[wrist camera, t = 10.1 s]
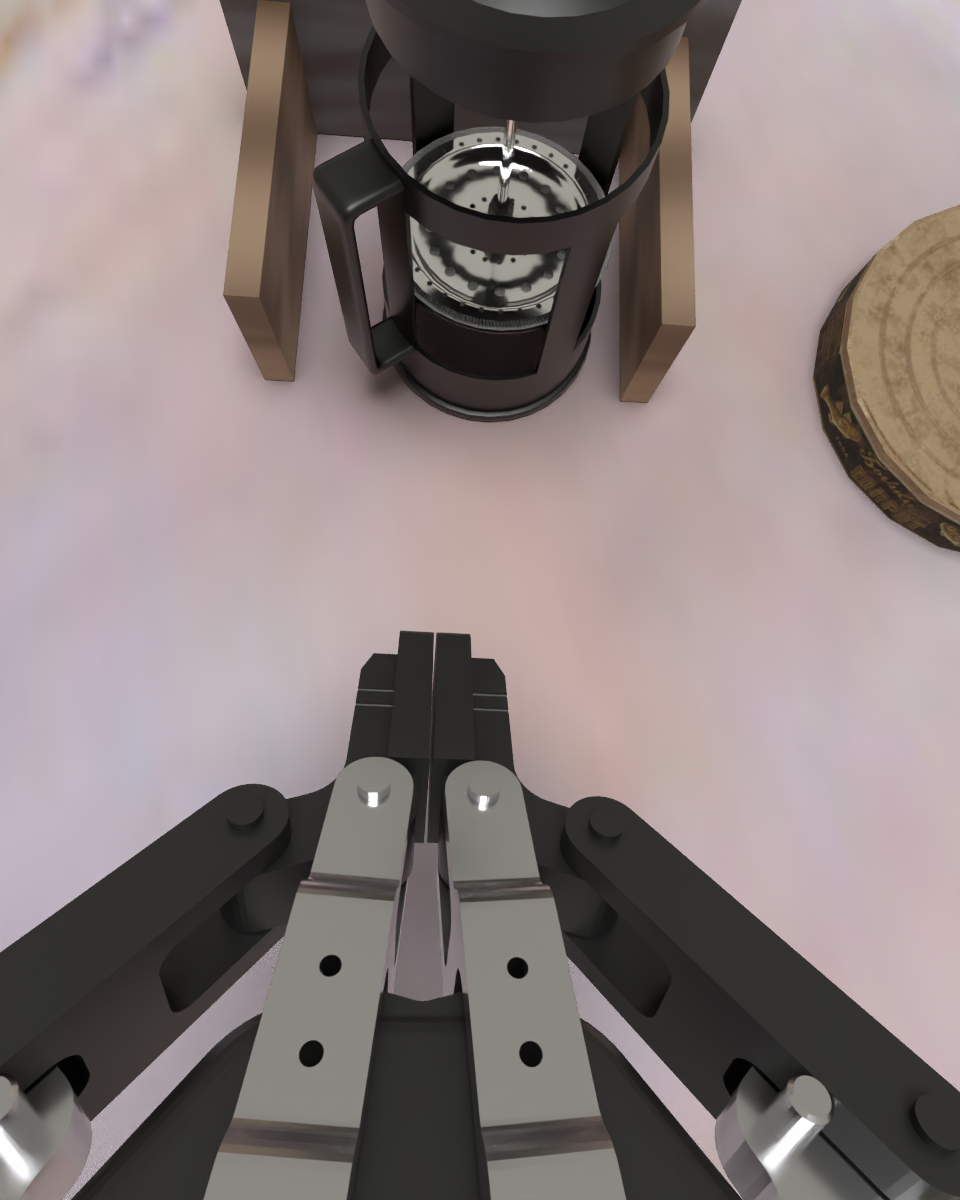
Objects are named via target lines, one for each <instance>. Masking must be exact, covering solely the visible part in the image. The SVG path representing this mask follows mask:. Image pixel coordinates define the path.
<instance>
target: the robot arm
mask: <svg viewBox="0 0 960 1200" xmlns="http://www.w3.org/2000/svg"><path fill="white" fill-rule="evenodd" d="M433 643H434V632H415V631H400V637H399V647H398V655H397V654H376V653H374V654H373V655H372V656H371V658H370V659H369V660H368V661H367V662H366V664H365V665H364V666H363V667H362V669H361V673H360V679H359V686H358V692H357V698H356V706H355V710H354V717H353V723H352V729H351V735H350V742H349V748H348V754H347V760H346V764H345V766H344V768H343V770H342V771H341V772H340V773H339V775H338V776H337V778H336V779H335V780H334V781H333V782H332V783H330V784H329V785H327V786H326V787H324V788H322V789H320V790H318V791H316V792H313V793H309V794H306V795H302V796H298V797H293V798H289V799H285V798H284V796H283V795H282V794H281V793H280V792H279V791H277V790H275V789H274V788H272V787H269V786H266V785H261V784H246V785H240V786H237V787H234V788H231V789H229V790H227V791H225V792H223V793H221V794H220V795H218V796H217V797H216V798H214V799H213V800H211V801H210V802H209V803H207V804H206V805H204V806H203V807H202V808H200V809H199V810H197V811H196V812H195V813H193V814H192V815H191V816H189V817H188V818H186V819H185V820H184V821H182V822H181V823H179V824H178V825H177V826H175V827H174V828H173V829H171V830H170V831H168V832H167V833H166V834H164V835H163V836H161V837H160V838H159V839H157V840H156V841H154V842H153V843H152V844H150V845H149V846H148V847H146V848H145V849H143V850H142V851H141V852H139V853H138V854H136V855H135V856H134V857H132V858H131V859H130V860H128V861H127V862H125V863H124V864H123V865H121V866H120V867H118V868H117V869H116V870H114V871H113V872H111V873H110V874H109V875H107V876H106V877H105V878H103V879H102V880H100V881H99V882H98V883H96V884H95V885H93V886H92V887H91V888H89V889H88V890H87V891H85V892H84V893H82V894H81V895H80V896H78V897H77V898H75V899H74V900H73V901H71V902H70V903H68V904H67V905H66V906H64V907H63V908H62V909H60V910H59V911H57V912H56V913H55V914H53V915H52V916H50V917H49V918H48V919H46V920H45V921H43V922H42V923H41V924H39V925H38V926H37V927H35V928H34V929H32V930H31V931H30V932H28V933H27V934H25V935H24V936H23V937H21V938H20V939H19V940H17V941H16V942H14V943H13V944H12V945H10V946H9V947H7V948H6V949H5V950H3V951H2V952H0V1200H62V1199H63V1198H64V1197H65V1195H66V1194H67V1193H68V1192H69V1190H70V1189H71V1188H72V1187H73V1185H74V1184H75V1182H76V1181H77V1179H78V1178H79V1176H80V1174H81V1172H82V1170H83V1168H84V1166H85V1164H86V1161H87V1158H88V1156H89V1152H90V1148H91V1142H92V1128H91V1123H90V1122H91V1121H92V1120H93V1119H94V1118H95V1117H96V1116H97V1115H98V1114H99V1113H100V1112H101V1111H102V1110H103V1109H104V1108H105V1107H106V1106H107V1105H108V1104H109V1103H110V1102H111V1101H112V1100H114V1099H115V1098H116V1097H117V1096H118V1095H119V1094H120V1093H121V1092H122V1091H123V1090H124V1089H125V1088H126V1087H127V1086H128V1085H129V1084H130V1083H131V1082H132V1081H133V1080H134V1079H135V1078H136V1077H137V1076H138V1075H140V1074H141V1073H142V1072H143V1071H144V1070H145V1069H146V1068H147V1067H148V1066H149V1065H150V1064H151V1063H152V1062H153V1061H154V1060H155V1059H156V1058H157V1057H158V1056H159V1055H160V1054H161V1053H162V1052H163V1051H164V1050H166V1049H167V1048H168V1047H169V1046H170V1045H171V1044H172V1043H173V1042H174V1041H175V1040H176V1039H177V1038H178V1037H179V1036H180V1035H181V1034H182V1033H183V1032H184V1031H185V1030H186V1029H187V1028H188V1027H189V1026H190V1025H192V1024H193V1023H194V1022H195V1021H196V1020H197V1019H198V1018H199V1017H200V1016H201V1015H202V1014H203V1013H204V1012H205V1011H206V1010H207V1009H208V1008H209V1007H210V1006H211V1005H212V1004H213V1003H214V1002H215V1001H217V1000H218V999H219V998H220V997H221V996H222V995H223V994H224V993H225V992H226V991H227V990H228V989H229V988H230V987H231V986H232V985H233V984H234V983H235V982H236V981H237V980H238V979H239V978H240V977H241V976H243V975H244V974H245V973H246V972H247V971H248V970H249V969H250V968H251V967H252V966H253V965H254V964H255V963H256V962H257V961H258V960H259V959H260V958H261V957H262V956H263V955H264V954H265V953H266V952H267V951H269V950H270V949H271V948H272V947H273V946H274V945H275V944H276V943H277V942H278V941H279V940H280V939H281V938H282V937H283V936H284V939H283V943H282V946H281V950H280V953H279V957H278V960H277V964H276V967H275V971H274V974H273V978H272V982H271V985H270V989H269V992H268V996H267V999H266V1003H265V1006H264V1010H263V1013H261V1014H259V1015H257V1016H255V1017H253V1018H252V1019H250V1020H248V1021H246V1022H245V1023H243V1024H242V1025H240V1026H239V1027H237V1028H236V1029H235V1030H233V1031H232V1032H230V1033H229V1034H228V1035H227V1036H226V1037H224V1038H223V1039H222V1040H221V1041H220V1042H219V1043H217V1044H216V1045H215V1046H214V1047H213V1048H212V1049H211V1050H210V1051H209V1052H208V1053H207V1054H206V1056H205V1057H204V1058H203V1059H202V1060H201V1061H200V1062H199V1063H198V1064H197V1065H196V1066H195V1067H194V1068H193V1069H192V1071H191V1072H190V1073H189V1074H188V1075H187V1076H186V1077H185V1078H184V1079H183V1080H182V1081H181V1082H180V1083H179V1084H178V1086H177V1087H176V1088H175V1089H174V1090H173V1091H172V1092H171V1093H170V1094H169V1095H168V1096H167V1097H166V1098H165V1099H164V1101H163V1102H162V1103H161V1104H160V1105H159V1106H158V1107H157V1108H156V1109H155V1110H154V1111H153V1112H152V1113H151V1115H150V1116H149V1117H148V1118H147V1119H146V1120H145V1121H144V1122H143V1123H142V1124H141V1125H140V1126H139V1127H138V1128H137V1130H136V1131H135V1132H134V1133H133V1134H132V1135H131V1136H130V1137H129V1138H128V1139H127V1140H126V1141H125V1142H124V1143H123V1145H122V1146H121V1147H120V1148H119V1149H118V1150H117V1151H116V1152H115V1153H114V1154H113V1155H112V1156H111V1157H110V1158H109V1160H108V1161H107V1162H106V1163H105V1164H104V1165H103V1166H102V1167H101V1168H100V1169H99V1170H98V1171H97V1172H96V1173H95V1175H94V1176H93V1177H92V1178H91V1179H90V1180H89V1181H88V1182H87V1183H86V1184H85V1185H84V1186H83V1187H82V1189H81V1190H80V1191H79V1192H78V1193H77V1194H76V1195H75V1196H74V1197H73V1198H72V1199H71V1200H742V1199H743V1200H960V1092H959V1091H958V1090H957V1089H956V1088H955V1087H953V1086H952V1085H951V1084H950V1083H949V1082H948V1081H946V1080H945V1079H944V1078H943V1077H942V1076H941V1075H939V1074H938V1073H937V1072H936V1071H935V1070H934V1069H932V1068H931V1067H930V1066H929V1065H928V1064H927V1063H926V1062H924V1061H923V1060H922V1059H921V1058H920V1057H919V1056H917V1055H916V1054H915V1053H914V1052H913V1051H912V1050H910V1049H909V1048H908V1047H907V1046H906V1045H905V1044H903V1043H902V1042H901V1041H900V1040H899V1039H898V1038H896V1037H895V1036H894V1035H893V1034H892V1033H891V1032H889V1031H888V1030H887V1029H886V1028H885V1027H884V1026H882V1025H881V1024H880V1023H879V1022H878V1021H877V1020H875V1019H874V1018H873V1017H872V1016H871V1015H870V1014H868V1013H867V1012H866V1011H865V1010H864V1009H863V1008H861V1007H860V1006H859V1005H858V1004H857V1003H856V1002H854V1001H853V1000H852V999H851V998H850V997H849V996H848V995H846V994H845V993H844V992H843V991H842V990H841V989H839V988H838V987H837V986H836V985H835V984H834V983H832V982H831V981H830V980H829V979H828V978H827V977H825V976H824V975H823V974H822V973H821V972H820V971H818V970H817V969H816V968H815V967H814V966H813V965H811V964H810V963H809V962H808V961H807V960H806V959H804V958H803V957H802V956H801V955H800V954H799V953H797V952H796V951H795V950H794V949H793V948H792V947H790V946H789V945H788V944H787V943H786V942H785V941H783V940H782V939H781V938H780V937H779V936H778V935H776V934H775V933H774V932H773V931H772V930H771V929H770V928H768V927H767V926H766V925H765V924H764V923H763V922H761V921H760V920H759V919H758V918H757V917H756V916H754V915H753V914H752V913H751V912H750V911H749V910H747V909H746V908H745V907H744V906H743V905H742V904H740V903H739V902H738V901H737V900H736V899H735V898H733V897H732V896H731V895H730V894H729V893H728V892H726V891H725V890H724V889H723V888H722V887H721V886H719V885H718V884H717V883H716V882H715V881H714V880H712V879H711V878H710V877H709V876H708V875H707V874H705V873H704V872H703V871H702V870H701V869H700V868H698V867H697V866H696V865H695V864H694V863H693V862H692V861H690V860H689V859H688V858H687V857H686V856H685V855H683V854H682V853H681V852H680V851H679V850H678V849H676V848H675V847H674V846H673V845H672V844H671V843H669V842H668V841H667V840H666V839H665V838H664V837H662V836H661V835H660V834H659V833H658V832H657V831H655V830H654V829H653V828H652V827H651V826H650V825H648V824H647V823H646V822H645V821H644V820H643V819H641V818H640V817H639V816H638V815H637V814H636V813H634V812H633V811H632V810H631V809H630V808H628V807H627V806H626V805H624V804H622V803H620V802H619V801H616V800H614V799H610V798H607V797H600V796H596V797H587V798H584V799H581V800H579V801H577V802H576V803H575V804H573V805H572V806H571V808H568V807H565V806H562V805H558V804H555V803H552V802H549V801H546V800H544V799H541V798H540V797H538V796H536V795H534V794H533V793H531V792H530V791H529V790H528V789H527V788H525V787H524V785H523V784H522V783H521V782H520V780H519V779H518V777H517V775H516V772H515V769H514V763H513V753H512V743H511V733H510V723H509V713H508V703H507V697H506V695H507V692H506V682H505V675H504V674H503V672H502V671H501V669H500V668H499V666H498V665H497V663H496V662H495V660H494V659H483V658H471V637H470V634H457V633H437V634H436V647H435V661H434V675H433ZM432 675H433V690H432ZM431 707H432V709H431ZM429 764H430V771H429ZM428 778H429V803H428V835H427V843H438V868H437V880H436V885H437V901H438V916H439V931H440V946H441V962H442V981H443V995H442V997H441V998H437V999H433V1000H430V1001H415V1000H412V999H409V998H405V997H402V996H398V995H395V994H393V992H394V983H395V974H396V967H397V960H398V952H399V945H400V938H401V931H402V923H403V916H404V909H405V902H406V894H407V887H408V877H409V875H410V873H411V870H412V866H413V853H414V842H415V843H424V832H425V819H426V805H427V791H428ZM566 955H567V956H568V957H569V959H570V960H571V961H572V962H573V963H574V964H575V965H576V966H577V967H578V968H579V970H580V971H581V972H582V973H583V974H584V975H585V976H586V977H587V978H588V979H589V981H590V982H591V983H592V984H593V985H594V986H595V987H596V988H597V989H598V990H599V992H600V993H601V994H602V995H603V996H604V997H605V998H606V999H607V1000H608V1001H609V1003H610V1004H611V1005H612V1006H613V1007H614V1008H615V1009H616V1010H617V1011H618V1012H619V1014H620V1015H621V1016H622V1017H623V1018H624V1019H625V1020H626V1021H627V1022H628V1023H629V1025H630V1026H631V1027H632V1028H633V1029H634V1030H635V1031H636V1032H637V1033H638V1034H639V1036H640V1037H641V1038H642V1039H643V1040H644V1041H645V1042H646V1043H647V1044H648V1045H649V1047H650V1048H651V1049H652V1050H653V1051H654V1052H655V1053H656V1054H657V1055H658V1056H659V1058H660V1059H661V1060H662V1061H663V1062H664V1063H665V1064H666V1065H667V1066H668V1067H669V1069H670V1070H671V1071H672V1072H673V1073H674V1074H675V1075H676V1076H677V1077H678V1078H679V1080H680V1081H681V1082H682V1083H683V1084H684V1085H685V1086H686V1087H687V1088H688V1089H689V1091H690V1092H691V1093H692V1094H693V1095H694V1096H695V1097H696V1098H697V1099H698V1100H699V1102H700V1103H701V1104H702V1105H703V1106H704V1107H705V1108H706V1109H707V1110H708V1111H709V1113H710V1114H711V1115H712V1116H713V1117H714V1118H715V1119H716V1125H715V1143H716V1149H717V1153H718V1157H719V1160H720V1162H721V1165H722V1167H723V1169H724V1171H725V1173H726V1175H727V1176H728V1178H729V1179H730V1181H731V1182H732V1184H733V1185H734V1187H735V1188H736V1189H737V1191H738V1192H739V1194H740V1195H741V1197H742V1199H741V1198H740V1196H739V1195H738V1194H737V1193H736V1192H735V1190H734V1189H733V1188H732V1187H731V1185H730V1184H729V1183H728V1182H727V1181H726V1179H725V1178H724V1177H723V1176H722V1174H721V1173H720V1172H719V1171H718V1170H717V1168H716V1167H715V1166H714V1165H713V1164H712V1162H711V1161H710V1160H709V1159H708V1157H707V1156H706V1155H705V1154H704V1153H703V1151H702V1150H701V1149H700V1148H699V1147H698V1145H697V1144H696V1143H695V1142H694V1140H693V1139H692V1138H691V1137H690V1136H689V1134H688V1133H687V1132H686V1131H685V1130H684V1128H683V1127H682V1126H681V1125H680V1123H679V1122H678V1121H677V1120H676V1119H675V1117H674V1116H673V1115H672V1114H671V1113H670V1111H669V1110H668V1109H667V1108H666V1106H665V1105H664V1104H663V1103H662V1102H661V1100H660V1099H659V1098H658V1097H657V1096H656V1094H655V1093H654V1092H653V1091H652V1089H651V1088H650V1087H649V1086H648V1085H647V1083H646V1082H645V1081H644V1080H643V1078H642V1077H641V1076H640V1075H639V1074H638V1072H637V1071H636V1070H635V1069H634V1068H633V1066H632V1065H631V1064H630V1063H629V1061H628V1060H627V1059H626V1058H625V1057H624V1055H623V1054H622V1053H621V1052H620V1051H619V1050H618V1049H617V1047H616V1046H615V1045H614V1044H613V1043H612V1042H611V1041H610V1040H609V1039H608V1038H606V1037H605V1036H604V1035H603V1034H602V1033H601V1032H600V1031H598V1030H597V1029H596V1028H594V1027H593V1026H592V1025H590V1024H589V1023H588V1022H586V1021H584V1020H583V1019H581V1018H580V1017H579V1013H578V1008H577V1003H576V999H575V994H574V989H573V985H572V980H571V975H570V971H569V966H568V961H567V956H566Z"/></svg>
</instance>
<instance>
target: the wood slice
mask: <svg viewBox="0 0 960 1200" xmlns="http://www.w3.org/2000/svg"><path fill="white" fill-rule="evenodd" d="M813 381H814V386H815V391H816V396H817V402H818V407H819V412H820V417H821V423H822V428H823V431H824V432H825V434H826V436H827V438H828V440H829V442H830V444H831V446H832V447H833V449H834V451H835V453H836V455H837V457H838V459H839V460H840V462H841V464H842V466H843V468H844V470H845V472H846V474H847V475H848V477H849V478H850V479H851V480H852V481H853V482H854V483H855V485H856V486H857V487H858V488H859V489H860V490H861V491H862V492H863V493H864V494H865V495H866V496H867V497H868V498H869V499H870V500H871V501H872V502H873V503H874V504H875V505H876V506H877V507H878V508H879V509H880V510H881V511H882V512H883V513H884V514H885V515H886V516H887V517H888V518H889V519H891V520H892V521H894V522H896V523H898V524H899V525H901V526H903V527H905V528H906V529H908V530H910V531H912V532H913V533H915V534H917V535H919V536H920V537H922V538H924V539H926V540H927V541H929V542H931V543H933V544H934V545H936V546H938V547H942V548H946V549H950V550H954V551H958V552H960V205H957V206H955V207H952V208H949V209H947V210H944V211H941V212H938V213H936V214H933V215H930V216H927V217H925V218H922V219H919V220H917V221H914V222H913V223H912V224H911V225H909V226H908V227H907V228H906V229H905V230H903V231H902V232H901V233H900V234H899V235H898V236H896V237H895V238H894V239H893V240H892V241H890V242H889V243H888V244H887V245H886V246H884V247H883V248H882V249H881V250H880V251H879V252H877V253H876V255H875V256H874V257H873V258H872V259H871V260H870V261H869V262H868V263H867V264H866V265H865V267H864V268H863V269H862V270H861V271H860V272H859V273H858V274H857V275H856V276H855V277H854V279H853V280H852V281H851V282H850V283H849V284H848V285H847V286H846V287H845V288H844V290H843V291H842V292H841V294H840V296H839V298H838V299H837V301H836V303H835V305H834V307H833V308H832V310H831V312H830V314H829V316H828V318H827V319H826V321H825V323H824V325H823V327H822V328H821V330H820V335H819V342H818V349H817V355H816V362H815V369H814V376H813Z"/></svg>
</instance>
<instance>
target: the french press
mask: <svg viewBox="0 0 960 1200" xmlns="http://www.w3.org/2000/svg"><path fill="white" fill-rule="evenodd" d="M707 1H708V0H365V2H366V5H367V8H368V11H369V14H370V17H371V20H372V23H373V26H372V28H371V29H370V32H369V34H368V37H367V39H366V42H365V44H364V47H363V49H362V52H361V57H360V64H359V71H358V78H357V79H358V91H359V102H360V111H361V119H362V127H363V135H364V142H362V143H360V144H358V145H356V146H354V147H353V148H351V149H349V150H347V151H345V152H343V153H341V154H339V155H337V156H335V157H333V158H331V159H329V160H328V161H326V162H324V163H322V164H320V165H319V166H318V167H316V168H315V170H314V172H313V173H312V182H313V188H314V192H315V196H316V201H317V205H318V209H319V213H320V218H321V222H322V226H323V231H324V235H325V239H326V244H327V248H328V252H329V257H330V261H331V265H332V270H333V274H334V278H335V283H336V287H337V291H338V295H339V300H340V304H341V308H342V313H343V317H344V321H345V326H346V330H347V334H348V338H349V341H350V343H351V345H352V346H353V348H354V349H355V350H356V352H357V353H358V355H359V356H360V358H361V359H362V360H363V362H364V363H365V365H366V366H367V368H368V369H369V371H370V372H371V373H372V374H378V373H381V372H382V371H384V370H386V369H388V368H389V367H391V366H393V365H394V366H395V368H396V369H397V371H398V373H399V375H400V376H401V377H402V379H403V380H404V381H405V382H406V383H407V384H408V386H409V387H410V388H411V389H412V390H413V391H414V392H415V393H416V394H418V395H419V396H420V397H421V398H423V399H424V400H425V401H426V402H428V403H429V404H431V405H433V406H434V407H436V408H438V409H440V410H442V411H444V412H446V413H448V414H451V415H455V416H458V417H461V418H465V419H468V420H478V421H487V422H491V421H504V420H511V419H515V418H519V417H523V416H526V415H529V414H531V413H533V412H535V411H538V410H540V409H542V408H544V407H546V406H547V405H549V404H550V403H551V402H553V401H554V400H555V399H557V398H558V397H559V396H560V395H562V394H563V393H564V392H565V390H566V389H567V388H568V387H569V386H570V385H571V384H572V382H573V381H574V380H575V379H576V377H577V375H578V373H579V371H580V369H581V368H582V366H583V364H584V362H585V359H586V355H587V352H588V349H589V345H590V341H591V329H592V326H593V324H594V321H595V318H596V314H597V311H598V307H599V304H600V297H601V277H602V275H603V274H604V272H605V270H606V268H607V265H608V261H609V258H610V255H611V251H612V243H613V234H614V232H615V229H616V226H617V223H618V220H619V219H620V218H621V216H622V215H623V214H624V213H625V212H626V211H627V210H628V209H629V208H630V206H631V205H632V204H633V203H634V202H635V201H636V199H637V198H638V196H639V194H640V192H641V190H642V189H643V187H644V185H645V183H646V181H647V180H648V177H649V175H650V172H651V169H652V167H653V164H654V161H655V159H656V156H657V154H658V151H659V148H660V146H661V143H662V139H663V136H664V132H665V129H666V125H667V122H668V118H669V97H670V91H669V86H668V80H667V75H666V69H665V67H666V66H667V64H668V62H669V61H670V59H671V57H672V55H673V54H674V52H675V50H676V48H677V47H678V45H679V43H680V41H681V38H682V35H683V32H684V29H685V26H686V23H687V22H688V21H689V20H690V19H691V18H692V17H693V16H694V14H695V13H696V12H697V11H698V10H699V9H700V8H701V7H702V6H703V5H704V4H705V3H706V2H707ZM392 56H393V57H394V58H395V59H396V60H397V61H398V62H399V64H400V65H401V66H402V67H403V68H404V69H405V70H406V71H407V72H408V73H409V77H410V98H411V120H412V142H413V157H412V158H411V159H410V160H409V161H408V162H407V163H406V164H405V165H404V166H403V167H401V166H400V165H399V164H398V163H397V162H396V160H395V159H394V158H393V157H392V156H391V155H390V154H389V153H388V151H387V149H386V148H385V146H384V144H383V143H382V141H381V139H380V138H379V136H378V134H377V132H376V131H375V129H374V126H373V123H372V120H371V117H370V114H369V112H370V105H371V98H372V93H373V91H374V88H375V86H376V83H377V81H378V78H379V75H380V73H381V71H382V70H383V68H384V67H385V65H386V64H387V63H388V61H389V60H390V58H391V57H392ZM639 92H640V93H641V95H642V98H643V100H644V103H645V105H646V109H647V115H648V120H649V126H650V144H649V153H648V155H647V157H646V158H645V160H644V162H643V163H642V164H641V166H640V167H639V168H638V169H637V170H636V171H635V172H634V173H633V174H632V175H631V177H630V178H629V179H628V180H627V181H626V182H625V183H623V184H622V185H621V186H619V187H618V188H616V189H615V190H614V191H612V192H611V193H609V194H608V191H609V188H610V185H611V182H612V178H613V175H614V172H615V169H616V166H617V162H618V159H619V156H620V153H621V150H622V146H623V143H624V140H625V137H626V133H627V130H628V127H629V124H630V121H631V117H632V114H633V111H634V108H635V105H636V101H637V98H638V95H639ZM455 104H457V105H459V106H461V107H463V108H465V109H467V110H471V111H474V112H477V113H481V114H484V115H487V116H491V117H494V118H497V119H504V120H505V127H498V126H497V127H475V128H471V129H466V130H462V131H457V132H454V105H455ZM587 116H589V117H588V121H587V125H586V129H585V133H584V137H583V141H582V146H581V150H580V154H579V158H577V157H575V156H574V155H573V154H571V153H570V152H569V151H567V150H566V149H564V148H563V147H562V146H560V145H559V144H557V143H555V142H552V141H550V140H548V139H546V138H544V137H542V136H540V135H537V134H534V133H530V132H527V131H524V130H520V129H517V121H520V122H528V123H540V122H564V121H569V120H573V119H578V118H582V117H587ZM607 194H608V195H607ZM376 206H377V209H378V217H379V226H380V234H381V242H382V251H383V259H384V267H383V275H382V278H383V290H384V299H385V303H384V310H383V321H381V322H379V323H378V324H376V325H374V326H372V327H371V325H370V319H369V314H368V308H367V302H366V296H365V290H364V284H363V278H362V272H361V266H360V261H359V255H358V249H357V243H356V237H355V231H354V221H355V219H356V218H357V217H359V216H360V215H361V214H363V213H365V212H366V211H368V210H370V209H372V208H374V207H376ZM415 300H417V301H418V302H419V303H420V304H421V305H422V306H423V307H425V308H426V309H427V310H429V311H430V312H432V313H433V314H435V315H436V316H438V317H440V318H442V319H444V320H446V321H448V322H450V323H452V324H455V325H457V326H460V327H463V328H467V329H470V330H473V331H477V332H484V333H492V334H520V333H526V332H531V331H536V330H539V329H542V328H545V327H546V330H545V334H544V338H543V342H542V346H541V349H540V353H539V357H538V361H537V365H536V368H535V370H533V371H529V372H525V373H521V374H517V375H509V376H485V375H476V374H471V373H468V372H464V371H461V370H458V369H454V368H452V367H450V366H448V365H446V364H444V363H442V362H440V361H438V360H436V359H434V358H433V357H431V356H430V355H429V354H428V353H426V352H425V351H424V350H422V349H421V348H420V347H419V346H418V344H417V329H416V312H415Z"/></svg>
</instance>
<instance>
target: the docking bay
mask: <svg viewBox="0 0 960 1200" xmlns="http://www.w3.org/2000/svg"><path fill="white" fill-rule="evenodd" d="M741 1H742V0H708V1H707V2H706V3H705V4H704V5H703V6H702V7H701V8H700V9H699V10H698V11H697V12H696V13H695V14H694V16H693V17H692V18H691V19H690V20H689V21H688V22H687V23H686V26H685V29H684V32H683V35H682V38H681V41H680V43H679V45H678V47H677V48H676V50H675V52H674V54H673V55H672V57H671V59H670V61H669V62H668V64H667V66H666V67H665V69H666V75H667V80H668V86H669V91H670V97H669V118H668V122H667V125H666V129H665V132H664V136H663V139H662V143H661V146H660V148H659V151H658V154H657V156H656V159H655V161H654V164H653V167H652V169H651V172H650V175H649V177H648V180H647V181H646V183H645V185H644V187H643V189H642V190H641V192H640V194H639V196H638V198H637V199H636V201H635V202H634V203H633V204H632V205H631V206H630V208H629V209H628V210H627V211H626V212H625V213H624V214H623V215H622V216H621V218H620V401H629V402H646V403H648V401H649V400H650V398H651V396H652V395H653V393H654V392H655V390H656V388H657V387H658V385H659V384H660V382H661V381H662V379H663V377H664V376H665V374H666V373H667V371H668V369H669V368H670V366H671V365H672V363H673V361H674V360H675V358H676V357H677V355H678V354H679V352H680V350H681V349H682V347H683V346H684V344H685V342H686V341H687V339H688V338H689V336H690V335H691V333H692V331H693V330H694V328H695V327H696V317H695V278H694V239H693V199H692V160H691V122H692V119H693V117H694V115H695V112H696V110H697V107H698V105H699V103H700V100H701V98H702V95H703V93H704V90H705V88H706V86H707V83H708V81H709V78H710V76H711V73H712V71H713V69H714V66H715V64H716V61H717V59H718V56H719V54H720V52H721V49H722V47H723V44H724V42H725V39H726V37H727V35H728V32H729V30H730V27H731V25H732V23H733V20H734V18H735V15H736V13H737V10H738V8H739V6H740V3H741ZM220 3H221V6H222V10H223V13H224V16H225V20H226V23H227V26H228V30H229V33H230V36H231V40H232V43H233V46H234V50H235V53H236V56H237V60H238V63H239V66H240V70H241V73H242V76H243V80H244V83H245V86H246V90H247V96H246V105H245V113H244V122H243V130H242V139H241V147H240V156H239V164H238V173H237V181H236V190H235V199H234V207H233V216H232V224H231V233H230V241H229V250H228V258H227V267H226V275H225V284H224V292H223V296H224V298H225V300H226V302H227V304H228V306H229V308H230V310H231V312H232V314H233V316H234V318H235V320H236V322H237V324H238V326H239V328H240V330H241V332H242V334H243V336H244V338H245V340H246V342H247V344H248V346H249V348H250V350H251V352H252V354H253V356H254V358H255V360H256V362H257V364H258V366H259V368H260V370H261V372H262V374H263V376H264V378H265V380H281V381H294V375H295V364H296V353H297V343H298V332H299V321H300V310H301V300H302V289H303V278H304V268H305V257H306V246H307V235H308V225H309V214H310V203H311V193H312V173H313V171H314V161H315V150H316V139H317V133H322V134H335V135H347V136H360V137H364V135H363V127H362V119H361V111H360V102H359V91H358V79H357V78H358V71H359V64H360V57H361V52H362V49H363V47H364V44H365V42H366V39H367V37H368V34H369V32H370V29H371V28H372V26H373V23H372V20H371V17H370V14H369V11H368V8H367V5H366V2H365V0H220ZM369 114H370V117H371V120H372V123H373V126H374V129H375V131H376V132H377V134H378V136H379V138H386V139H399V140H412V120H411V98H410V77H409V73H408V72H407V71H406V70H405V69H404V68H403V67H402V66H401V65H400V64H399V62H398V61H397V60H396V59H395V58H394V57H393V56H392V57H391V58H390V60H389V61H388V63H387V64H386V65H385V67H384V68H383V70H382V71H381V73H380V75H379V78H378V81H377V83H376V86H375V88H374V91H373V93H372V98H371V105H370V112H369ZM588 117H589V116H587V117H582V118H578V119H573V120H569V121H564V122H540V123H528V122H520V121H517V129H520V130H524V131H527V132H530V133H534V134H537V135H540V136H542V137H544V138H546V139H548V140H550V141H552V142H555V143H557V144H559V145H560V146H562V147H563V148H564V149H566V150H567V151H569V152H570V153H578V154H580V150H581V146H582V141H583V137H584V133H585V129H586V125H587V121H588ZM497 126H498V127H505V120H504V119H497V118H494V117H491V116H487V115H484V114H481V113H477V112H474V111H471V110H467V109H465V108H463V107H461V106H459V105H457V104H455V105H454V132H457V131H462V130H466V129H471V128H475V127H497ZM649 144H650V126H649V120H648V115H647V109H646V105H645V103H644V100H643V98H642V95H641V93H640V92H639V95H638V98H637V101H636V105H635V108H634V111H633V114H632V117H631V121H630V124H629V127H628V130H627V133H626V137H625V140H624V143H623V146H622V150H621V153H620V156H619V176H620V186H621V185H622V184H623V183H625V182H626V181H627V180H628V179H629V178H630V177H631V175H632V174H633V173H634V172H635V171H636V170H637V169H638V168H639V167H640V166H641V164H642V163H643V162H644V160H645V158H646V157H647V155H648V153H649Z"/></svg>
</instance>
